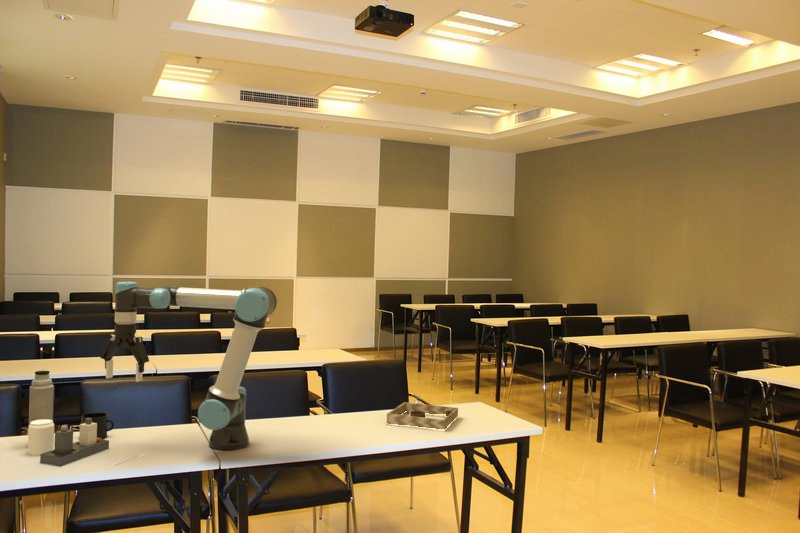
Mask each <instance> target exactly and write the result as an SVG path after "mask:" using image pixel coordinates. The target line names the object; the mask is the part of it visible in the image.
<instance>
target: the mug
mask: <svg viewBox="0 0 800 533" xmlns="http://www.w3.org/2000/svg"><path fill="white" fill-rule="evenodd" d="M108 416H109V414H108V413H106V412H104V411H102V412H101V411H100V412H89V413H88V412H87V413H85V414H84V413H83V414H82V415H81V418H80V420H81V421H80V424H83V423H85V422H86V418H92V423H97V438H102V439H103V440H105V439H106V438H107V436H108V432H110V431H112V430H113V429H114V428H115V423H114V420H111V419H108V418H109V417H108ZM108 423H110V424H111V427H110V428H108Z"/></svg>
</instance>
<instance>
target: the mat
mask: <svg viewBox="0 0 800 533" xmlns="http://www.w3.org/2000/svg"><path fill="white" fill-rule="evenodd" d="M137 457H138V458H139V455H137V456H134V457H132V458H129V459H127V460H126V462H127V461H130V460H133V459H134V458H135V459H136V458H137ZM122 463H124V461H122V462H121V463H118V464H115V465H114V466H115V467H116V466H117V465H120V464H122Z"/></svg>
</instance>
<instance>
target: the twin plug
mask: <svg viewBox="0 0 800 533" xmlns="http://www.w3.org/2000/svg"><path fill="white" fill-rule="evenodd" d="M73 443H74V430H73V429H72V430H71V429H68V424H63V425H61V426H60V429H59V430H57V431H54V449H55V450H54V453H56V454H62V455H64V454H67V453H70V452H73Z"/></svg>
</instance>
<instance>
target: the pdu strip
mask: <svg viewBox="0 0 800 533" xmlns="http://www.w3.org/2000/svg"><path fill="white" fill-rule="evenodd" d="M109 448H110V440H108V439H102V438H97V441H96V444H93V445H90V446H84V445H79V440H78V441H75V442H73V452H70V453H67V454H64V455H62V454H56V453H54V450H55V448H54V450H51V451H48V452H45V453H42V454H40V455H39V457H40V458H39V459H40V460H39V461H40V462H39V463H40V464H44V465H50V466H58V467H63V466H66V465H68V464H70V463H73V462H77V461H79V460H81V459H85V458H88V457H89V456H93V455H95V454H99V453H101V452H103V451H107V450H108V449H109Z"/></svg>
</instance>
